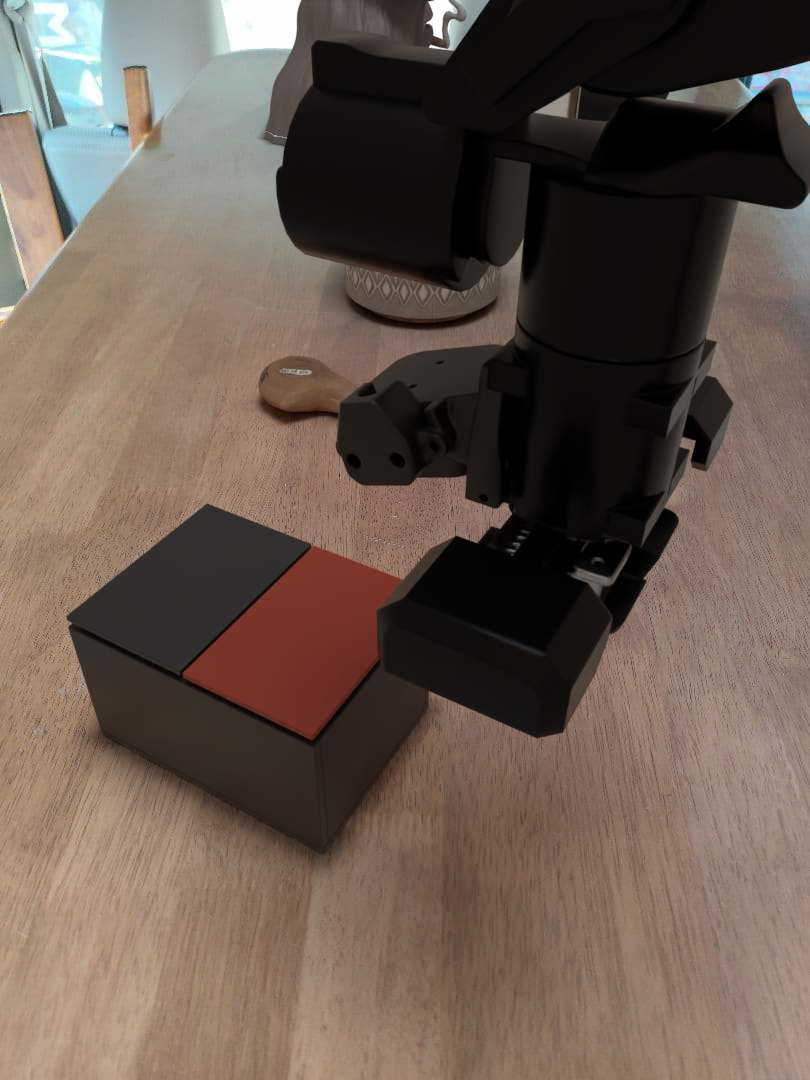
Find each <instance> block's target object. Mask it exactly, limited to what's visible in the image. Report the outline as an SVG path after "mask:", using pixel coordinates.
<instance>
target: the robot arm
mask: <svg viewBox="0 0 810 1080" xmlns="http://www.w3.org/2000/svg"><path fill="white" fill-rule="evenodd" d="M311 59H312V78H313V84H312V85H311V86H310V87H309V89H308V90H307V92H306V93H305V95H304V97H303V98H302V100H301V101H300V103H299V104H298V107H297V109H296V111H295V114H294V116H293V119H292V121H291V124H290V126H289V130H288V134H287V139H286V143H285V145H284V147H283V152H282V153H283V155H282V162H281V165H280V166H279V167H278V168H277V170H276V173H275V192H276V194H275V195H276V201H277V206H278V212H279V217H280V220H281V223H282V225H283V228H284V231H285V233H286V236H287V237H288V238H289V240H290V241H291V243H292V245H293V246H294V247H295V248H296V249H297V250H298V251H300V252H301V253H303V254H304V255H305V256H308V257H314V258H317V259H321V260H325V261H330V262H333V263H338V264H342V265H344V264H346V265H350V266H354V267H358V268H362V269H366V270H370V271H374V272H379V273H383V274H387V275H391V276H395V277H399V278H403V279H407V280H411V281H416V282H420V283H424V284H428V285H432V286H436V287H440V288H444V289H449V290H453V291H457V292H463V291H466V290H469V289H471V288H472V287H474V286H475V285H476V284H477V283H478V282H479V281H480V279H481V278H482V277H483V276H484V274H485V273H486V272H487V270H488V269H489V267H490V265H492V266H498V267H502V268H503V267H504V266H506V265H507V264H508V263H510V262H511V260H512V259H513V258H514V257H515V255H516V254H517V252H518V250H519V248H520V247H521V244H522V251H521V262H520V272H519V283H518V292H517V293H518V294H517V306H516V315H515V316H516V317H515V325H514V326H515V328H514V336H512V337H511V338H510V339H509V340H508V341H507V343H505V344H504V345H502V344H497V343H496V344H495V343H492V344H491V343H489V344H479V345H471V346H461V347H451V348H441V349H432V350H423V351H417V352H414V353H411V354H408V355H406V356H402V357H401V358H398V359H397V360H395V361H394V362H392V364H390V365H388V367H386V368H385V369H384V370H382V371H381V372H380V373H379V374H378V375H377V376H375V377H374V378H373V379H372V380H370V381H369V382H364V383H362V384H361V385H360V386H358V389H357V390H355V391H354V392H353V393H352V394H350V395H349V396H348V397H347V398H345V399H344V400H343V401H342V402H340V404H339V413H337V415H336V417H337V430H336V441H335V450H336V452H337V454H338V455H339V457H340V458H341V460H342V463H343V466H344V468H345V472H346V474H347V475H348V477H350V479H352V480H353V481H355V482H356V483H357V484H359V485H361V486H365V487H369V486H370V487H372V486H373V487H375V486H376V487H398V486H399V487H408V486H411V485H412V484H413V483H414V482H415V481H416V480H417V479H426V478H427V479H452V478H453V479H454V478H460V477H461V478H462V477H466V478H465V492H464V493H465V494H464V499H465V500H468V501H471V502H474V503H477V504H479V505H483V506H486V507H489V508H492V509H494V510H497V509H499V508H500V507H502V505H503V504H507V507H508V509H509V512H510V513H511V514H510V516H509V517H508V518H507V520H505V522H504V523H503V524H502V526H501V527H500V528H499V527H496V526H493V525H491V526H490V527H489V528H488V529H487V530H486V531H485V533H484V534H483V536H481V538H479V540H478V541H477V542H475V541H472V540H470V539H468V538H464V537H462V536H459V535H455V536H452V537H451V538H449V539H447V540H445V541H443V542H441V543H439V544H437V545H434V546H433V547H431V548H429V549H428V551H426V552H425V554H424V555H423V556H422V557H421V558H420V560H419V561H418V562H417V563H416V564H415V565H414V566H413V567H412V569H411V570H410V571H409V572H408V574H406V576H405V577H404V578H403V579H402V580H403V581H402V582H401V583H400V584H399V585H398V586H397V587H396V589H395V590H394V591H393V592H392V593H391V594H390V596H389V597H388V598H387V599H386V600H385V601H384V602H383V604H382V605H381V606H380V607H379V608H378V609H377V653H378V656H379V659H380V662H381V665H382V668H383V671H384V672H386V673H389V674H391V675H393V676H396V677H398V678H400V679H402V680H405V681H407V682H409V683H412V684H414V685H416V686H418V687H421V688H423V689H425V690H427V691H429V693H431V694H432V693H433V694H435V695H436V696H439V697H441V698H444V699H446V700H448V701H451V702H452V703H455V704H457V705H459V706H462V707H464V708H466V709H468V710H471V711H473V712H476V713H477V714H479V715H483V716H485V717H486V718H489V719H492V720H494V721H496V722H499V723H501V724H503V725H505V726H507V727H510V728H512V729H514V730H516V731H519V732H521V733H524V734H526V735H527V736H530V737H533V738H535V739H537V740H538V739H541V738H547V737H551V736H555V735H561V734H563V733H564V732H565V731H566V729H567V727H568V725H569V723H570V721H571V719H572V718H573V716H574V714H575V712H576V710H577V708H578V707H579V705H580V703H581V701H582V699H583V697H584V695H585V694H586V692H587V690H588V689H589V686H590V685H591V683H592V681H593V679H594V678H595V676H596V674H597V671H598V668H599V666H600V663H601V659H602V657H603V655H604V653H605V650H606V646H607V644H608V641H609V638H610V637H609V636H610V635H613V634H615V633H617V632H618V631H620V629H621V628H622V627H623V626H624V624H625V622H627V618H628V617H629V615H630V613H631V612H632V610H633V608H634V606H635V604H636V602H637V601H638V598H639V597H640V595H641V594H642V591H643V589H644V588H645V586H646V584H647V579H645V578H646V576H647V575H648V574H649V573H650V571H651V570H652V569H653V568H654V567H655V565H656V564H657V563H658V561H659V560H660V559H661V557H662V555H663V554H664V552H665V549H667V546H668V545H669V542H670V541H671V539H672V537H673V535H674V533H675V532H676V529H677V528H678V525H679V524H680V518H679V516H678V514H677V513H675V512H674V511H673V510H672V509H669V508H666V506H667V504H668V502H669V500H670V498H671V497H672V495H673V493H674V492H675V490H676V488H677V487H678V485H679V483H680V481H681V480H682V478H683V476H684V474H685V471H686V467H687V464H688V460H689V456H690V451H691V450H690V448H687V447H686V448H685V447H683V446H681V443H682V439H683V438H684V439H688V440H690V441H693V442H694V441H695V442H694V446H693V449H692V454H691V457H690V465H691V468H692V469H695V470H699V471H702V472H706V473H707V472H708V470H709V468H710V466H711V465H712V463H713V461H714V459H715V457H716V456H717V454H718V451H719V450H720V448H721V447H722V445H723V443H724V440H725V437H726V433H727V429H728V425H729V422H730V418H731V414H732V411H733V409H734V408H733V407H734V404H735V403H734V402H733V400H732V399H731V397H730V395H729V394H728V393H727V391H726V390H725V388H724V387H723V385H722V383H720V381H719V380H718V378H717V377H716V376H711V375H708V374H709V373H710V371H711V367H712V363H713V360H714V356H715V352H716V347H717V344H718V341H716V340H712V339H707V335H708V330H709V326H710V322H711V318H712V315H713V310H714V306H715V302H716V297H717V293H718V289H719V284H720V281H721V280H720V279H721V275H722V272H723V268H724V264H725V260H726V255H727V252H728V248H729V245H730V239H731V236H732V230H733V227H734V222H735V218H736V215H737V210H738V207H739V203H740V202H741V203H747V204H754V205H757V206H762V207H763V206H764V207H769V208H773V209H774V208H775V209H780V210H794V209H797V208H798V207H800V206H801V205H802V204H803V203H804V202H805V201H806V199H807V198H808V196H809V195H810V124H809V123H808V122H807V120H806V119H805V118H804V116H803V115H802V113H801V112H800V110H799V107H798V106H797V103H796V100H795V98H794V93H793V89H792V84H791V82H790V81H789V80H788V79H787V78H784V77H776V78H774V79H772V80H771V81H770V82H769V83H768V84H766V86H764V87H763V88H762V89H761V90H760V91H759V92H758V93H756V94H755V96H753V97H752V99H750V100H749V101H748V102H746V103H744V104H743V105H741V106H739V107H737V108H733V107H725V106H718V105H717V106H716V105H712V104H711V105H710V104H702V103H696V102H690V101H689V102H688V101H681V100H673V99H667V98H666V99H660V98H652V97H650V96H655V95H659V94H664V93H669V94H670V93H674V92H679V91H683V90H687V89H688V90H689V89H692V88H698V87H702V86H707V85H713V84H716V83H717V84H718V83H722V82H727V81H731V80H736V79H740V78H746V77H750V76H751V77H752V76H754V75H760V74H765V73H770V72H774V71H775V72H776V71H778V70H779V71H780V70H783V69H787V68H791V67H794V66H797V65H802V64H804V63H808V62H810V0H488V1H487V3H486V4H485V6H483V8H482V10H481V11H480V12H479V14H478V16H477V17H476V19H475V20H473V23H472V24H471V25H470V27H469V29H468V30H467V32H466V33H465V34H464V36H463V37H462V39H461V40H460V41H459V43H458V45H457V46H456V47H455V49H454V50H450V49H444V48H437V47H421V46H413V45H407V44H403V43H400V42H397V41H395V40H393V39H391V38H389V37H386V36H384V35H381V34H376V33H370V32H362V31H354V30H349V31H345V32H342V33H339V34H335V35H332V36H329V37H326V38H322V39H319V40H316V41H315V42H314V44H313V45H312V46H311ZM579 87H582V88H584V89H586V90H588V91H590V92H592V93H596V94H602V95H609V96H615V97H621V98H627V99H625V100H624V101H623V102H622V103H621V104H620V105H619V106H618V107H617V108H616V110H615V111H614V112H613V114H612V115H611V117H610V118H609V120H608V121H594V120H582V119H574V118H567V117H560V116H553V115H547V114H540V113H534V112H536V111H538V110H539V109H541V108H543V107H545V106H547V105H548V104H550V103H552V102H554V101H555V100H557V99H559V98H561V97H563V96H564V95H566V94H568V93H570V92H572V91H573V90H575V89H577V88H579Z"/></svg>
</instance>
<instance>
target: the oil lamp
mask: <svg viewBox="0 0 810 1080" xmlns="http://www.w3.org/2000/svg"><path fill="white" fill-rule="evenodd" d="M257 387H258V392H259V394H260V395H261V397H262V398H263V399H264V400H265V401H266V402H267V403H268V404H269V405H271V406H272V407H273V408H274V407H275V408H277V409H279V410H282V411H285V412H293V413H294V412H295V413H296V412H300V413H301V412H315V411H316V412H329V413H334V414H339V404H340V402H342V401H343V400H344V399H345V398H347V397H348V396H349V395H350V394H352V393H353V392H354V391H355V390H357V389H358V388H359V386H357V385H356V384H354V383H353V382H352V380H349V379H348V378H346V377H344V376H342V375H340V374H339V373H337V372H335V371H333V370H332V369H331V368H330V367H329V366H328V364H326V363H325V362H323V361H321V360H319V359H317V358H314V357H310V356H306V355H289V356H285V357H281V358H279V359H276V360H274V361H272V362H270V363H269V364H268V365H266V367H264V369H263V370H262V371H261V373H260V375H259V378H258V383H257Z"/></svg>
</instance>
